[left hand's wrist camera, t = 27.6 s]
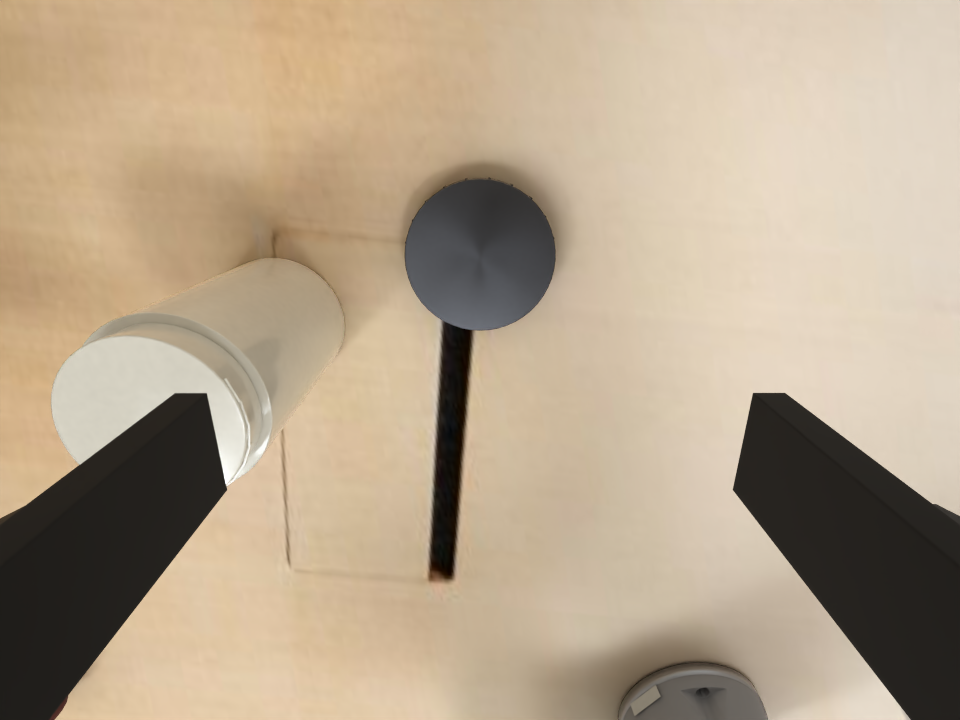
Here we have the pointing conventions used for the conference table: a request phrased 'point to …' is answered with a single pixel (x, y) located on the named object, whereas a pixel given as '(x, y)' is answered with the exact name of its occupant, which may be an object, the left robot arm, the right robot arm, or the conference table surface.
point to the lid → (480, 254)
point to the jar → (206, 360)
